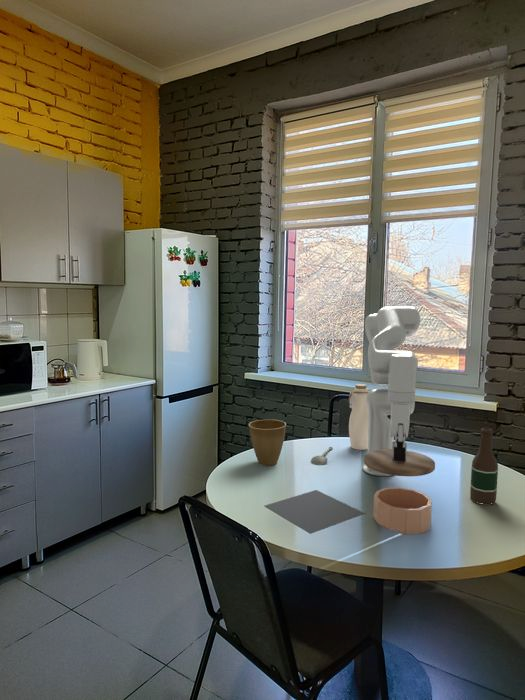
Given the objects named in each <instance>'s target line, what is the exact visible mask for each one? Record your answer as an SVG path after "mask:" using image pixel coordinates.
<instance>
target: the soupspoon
mask: <svg viewBox="0 0 525 700" xmlns="http://www.w3.org/2000/svg"><path fill="white" fill-rule="evenodd" d="M333 450H334V448H333V447H332V446H329V447H328V448H327V449H326V450H325V451H324V452H323V453H322V454H321V455H315V456H312V458H311V460H310V464H312V465H315V466H325V465H326V464H327V463H328V458H327V456H325V455H326V454H327V452H329V451H333Z"/></svg>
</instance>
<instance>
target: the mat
mask: <svg viewBox="0 0 525 700" xmlns="http://www.w3.org/2000/svg"><path fill="white" fill-rule="evenodd" d="M264 507H265V508H267V509H268V510H270V511H271V512H274V513H275V514H277V515H278V516H280V517H282V518H283V519H284V520H287V522H290V523H292V524H293V525H295V526H296V527H299V528H300V529H302V530H303V531H305V532H307V533H309V534H310V535H311V534H313V533H317V532H319V531H321V530H325V529H326V528H329V527H332V526H335V525H338V524H341V523H343V522H346V521H348V520H351V519H353V518H357V517H359V516H362V515H364V514H365V515H366V512H364V511H361V510H359V509H358V508H355V507H354V506H351V505H349V504H346V503H344V502H343V501H340V500H338V499H337V498H334V497H332V496H330V495H328V494H325V493H324V492H321V491H320V490H317V489H314V490H311V491H307V492H304V493H301V494H298V495H295V496H292V497H289V498H285V499H282V500H278V501H276V502H272V503H268V504H265V505H264Z"/></svg>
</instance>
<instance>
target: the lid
mask: <svg viewBox="0 0 525 700" xmlns="http://www.w3.org/2000/svg"><path fill="white" fill-rule="evenodd" d="M407 446H408V445H407V442H405V448H406V451H405V461H404V462H403V461H394V447H395V440H394V442H392V449H382V450H375V451H371V452H369V453H368V452H366V454H365V455H364V457H363V463H364V464H365V465H366V466H367V467H369V468H371V469H373V470H375V471H378V472H381V473H385V474H389V475H391V476H397V477H419V476H420V477H421V476H426V475H428V474H432V473H433V472H434V471H435V469H436V462H435V460H433V459H432V458H431V457H429V456H427V455H425V454H423V453H420V452H416V451H412V450H407Z"/></svg>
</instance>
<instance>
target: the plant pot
mask: <svg viewBox="0 0 525 700" xmlns="http://www.w3.org/2000/svg"><path fill="white" fill-rule="evenodd" d="M286 427H287V423H286V422H285V421H283V420H279V419H259V420H254V421H250V422H249V423H248V429H249V435H250V440H251V444H252V448H253V450H254V454H255V457H256V459H257V462H258V464H259V465H261V466H264V465H265V467H267V466H269V467H270V466H275V465H277V464H278V462H279V458H280V455H281V452H282V448H283V444H284V440H285V435H286V429H287V428H286Z"/></svg>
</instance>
